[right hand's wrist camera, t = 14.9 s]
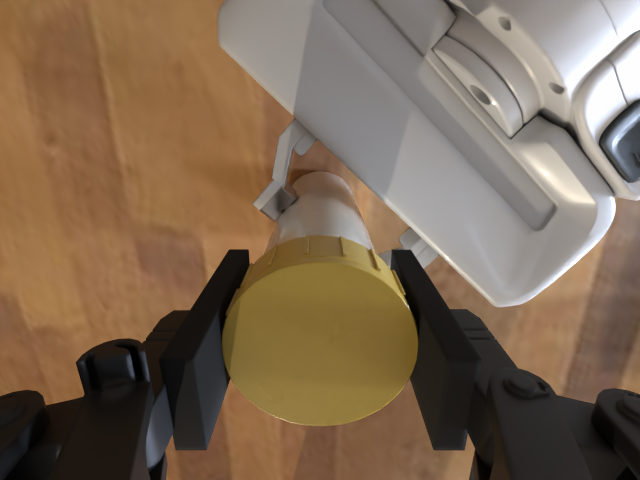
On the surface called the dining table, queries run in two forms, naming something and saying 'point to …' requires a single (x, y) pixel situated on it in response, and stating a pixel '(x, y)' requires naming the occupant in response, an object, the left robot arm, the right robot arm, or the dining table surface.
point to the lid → (320, 332)
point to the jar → (321, 211)
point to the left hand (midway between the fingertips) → (309, 249)
